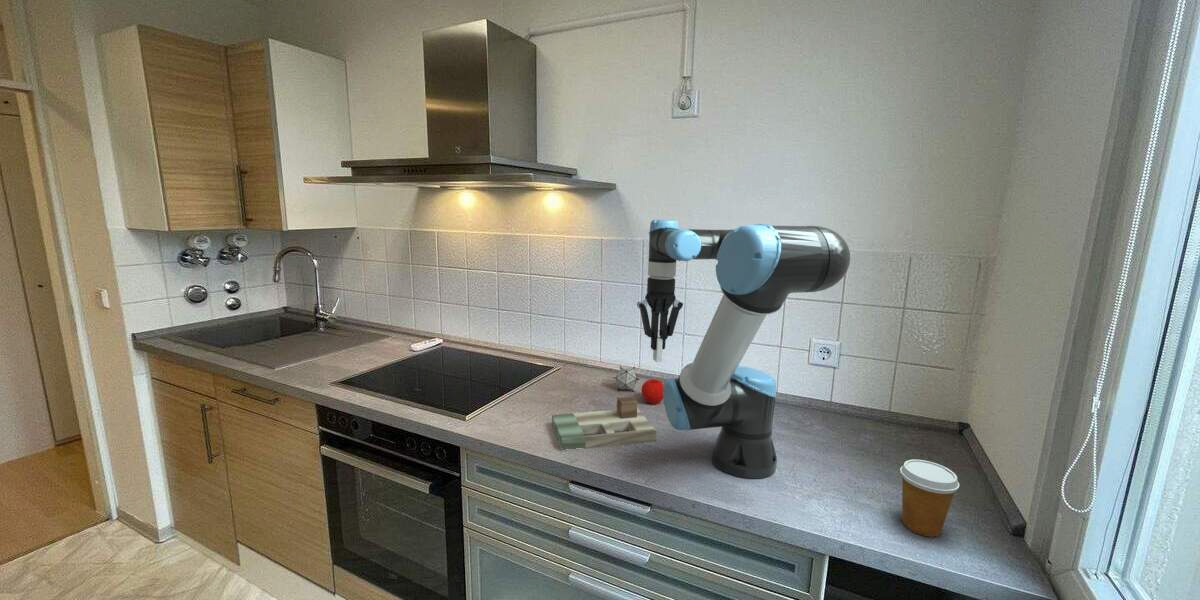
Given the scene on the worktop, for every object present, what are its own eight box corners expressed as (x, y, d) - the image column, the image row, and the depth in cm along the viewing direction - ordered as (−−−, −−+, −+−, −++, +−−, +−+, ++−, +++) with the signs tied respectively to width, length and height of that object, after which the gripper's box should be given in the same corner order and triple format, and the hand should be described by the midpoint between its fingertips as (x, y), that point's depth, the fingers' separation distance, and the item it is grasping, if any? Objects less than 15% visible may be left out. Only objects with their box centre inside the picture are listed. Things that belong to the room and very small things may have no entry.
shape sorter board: (655, 441, 129) (656, 430, 128) (562, 450, 122) (562, 439, 122) (636, 417, 143) (637, 407, 142) (551, 425, 136) (552, 415, 136)
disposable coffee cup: (955, 549, 90) (966, 489, 87) (895, 533, 94) (904, 476, 91) (944, 520, 98) (954, 465, 96) (890, 507, 102) (898, 454, 100)
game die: (627, 402, 163) (627, 386, 156) (608, 388, 168) (607, 371, 160) (644, 385, 168) (645, 368, 160) (625, 371, 172) (625, 354, 164)
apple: (637, 398, 158) (638, 376, 156) (660, 396, 159) (661, 375, 158) (644, 408, 150) (645, 385, 149) (669, 406, 152) (670, 383, 150)
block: (636, 417, 136) (637, 402, 135) (621, 418, 135) (621, 403, 134) (631, 410, 140) (632, 396, 139) (616, 412, 139) (617, 397, 138)
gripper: (677, 275, 138) (673, 355, 142) (634, 275, 134) (630, 357, 139) (689, 278, 131) (684, 363, 135) (643, 279, 127) (639, 366, 132)
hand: (657, 360), depth 137 cm, fingers closed
